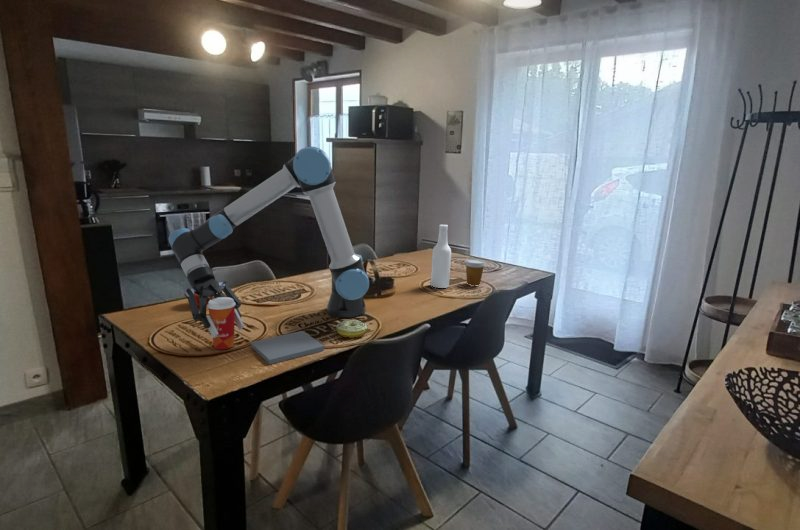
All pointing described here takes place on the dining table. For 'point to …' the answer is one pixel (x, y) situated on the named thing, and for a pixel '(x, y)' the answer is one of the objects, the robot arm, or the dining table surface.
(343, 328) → the decorated donut
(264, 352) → the slate board
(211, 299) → the dragon fruit
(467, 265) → the disposable coffee cup
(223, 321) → the coffee cup
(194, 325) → the dining table surface
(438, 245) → the alcohol
